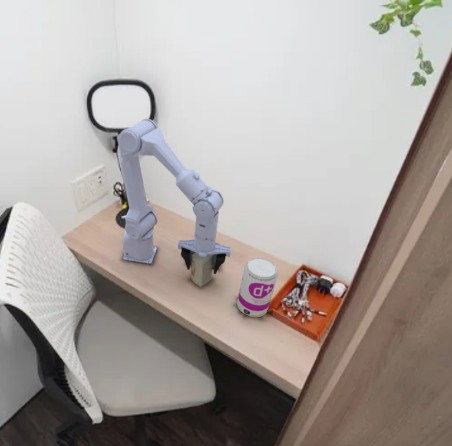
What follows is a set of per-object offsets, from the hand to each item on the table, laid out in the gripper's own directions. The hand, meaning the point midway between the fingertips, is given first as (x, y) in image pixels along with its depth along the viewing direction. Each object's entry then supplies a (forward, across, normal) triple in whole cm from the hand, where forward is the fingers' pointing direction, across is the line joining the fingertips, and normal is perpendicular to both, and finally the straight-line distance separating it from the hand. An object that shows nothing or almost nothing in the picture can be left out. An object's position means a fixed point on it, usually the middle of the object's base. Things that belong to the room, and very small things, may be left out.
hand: (201, 269), depth 99 cm
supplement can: (+4, +15, -7) cm, 17 cm away
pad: (+4, 0, +10) cm, 11 cm away
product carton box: (+4, 0, 0) cm, 4 cm away
